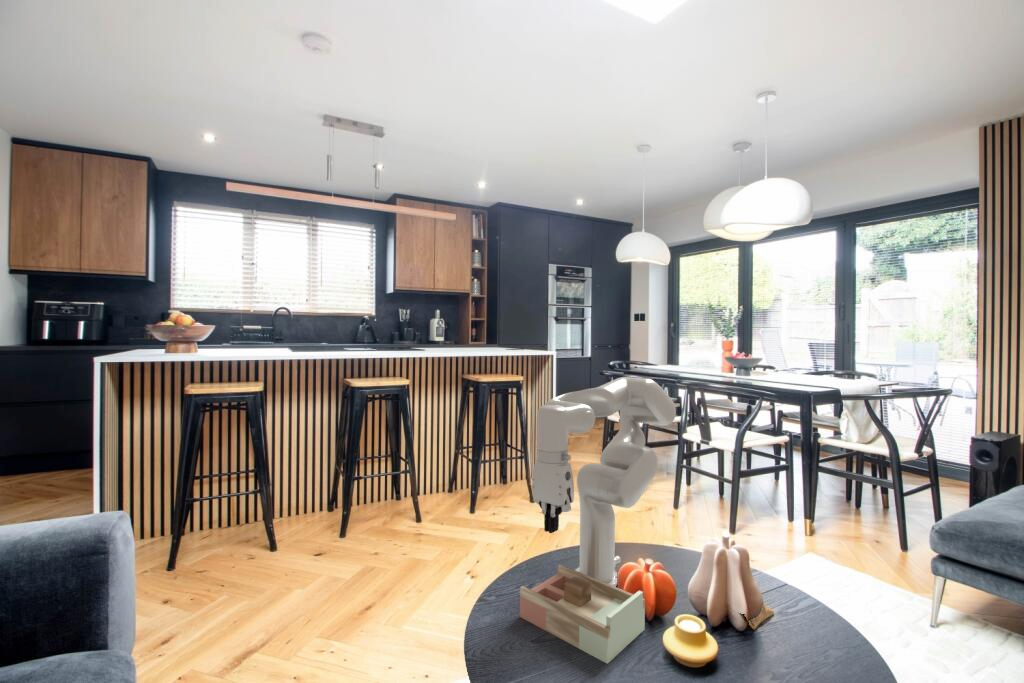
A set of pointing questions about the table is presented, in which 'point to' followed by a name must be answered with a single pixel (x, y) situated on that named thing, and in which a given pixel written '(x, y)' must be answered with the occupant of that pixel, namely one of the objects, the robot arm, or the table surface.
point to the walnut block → (577, 591)
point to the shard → (761, 617)
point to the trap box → (586, 614)
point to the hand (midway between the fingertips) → (551, 530)
